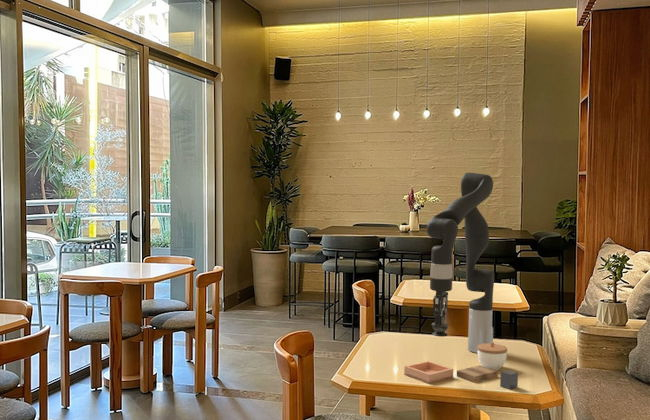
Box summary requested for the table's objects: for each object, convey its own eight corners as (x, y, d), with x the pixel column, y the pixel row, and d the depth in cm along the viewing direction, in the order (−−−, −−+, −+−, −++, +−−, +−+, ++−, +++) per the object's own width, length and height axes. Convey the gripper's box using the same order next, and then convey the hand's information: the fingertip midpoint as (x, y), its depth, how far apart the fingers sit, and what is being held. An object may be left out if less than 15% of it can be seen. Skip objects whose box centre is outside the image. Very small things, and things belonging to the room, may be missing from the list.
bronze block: (480, 372, 231) (480, 365, 231) (497, 378, 224) (497, 371, 224) (456, 377, 224) (456, 370, 224) (473, 383, 218) (474, 376, 217)
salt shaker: (436, 337, 217) (437, 302, 216) (428, 333, 222) (429, 299, 222) (451, 336, 219) (452, 301, 218) (442, 331, 224) (443, 298, 224)
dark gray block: (507, 384, 216) (508, 369, 216) (517, 387, 213) (518, 372, 213) (500, 386, 214) (500, 371, 214) (510, 389, 211) (510, 374, 210)
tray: (428, 368, 232) (428, 360, 232) (453, 377, 223) (453, 368, 222) (404, 374, 225) (404, 366, 225) (429, 383, 215) (429, 374, 215)
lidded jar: (501, 373, 228) (502, 348, 227) (472, 368, 234) (473, 343, 233) (510, 366, 237) (510, 341, 236) (482, 361, 243) (482, 337, 242)
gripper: (448, 280, 211) (447, 330, 212) (455, 274, 225) (454, 321, 226) (425, 278, 214) (424, 328, 215) (434, 272, 227) (433, 319, 228)
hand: (440, 324), depth 220 cm, fingers closed on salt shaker, 6 cm apart
